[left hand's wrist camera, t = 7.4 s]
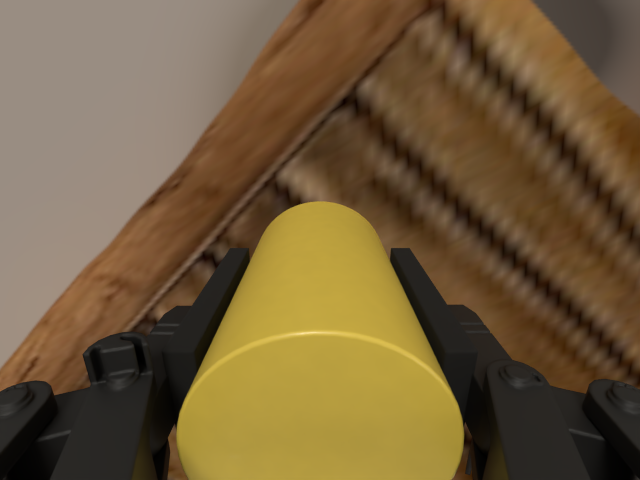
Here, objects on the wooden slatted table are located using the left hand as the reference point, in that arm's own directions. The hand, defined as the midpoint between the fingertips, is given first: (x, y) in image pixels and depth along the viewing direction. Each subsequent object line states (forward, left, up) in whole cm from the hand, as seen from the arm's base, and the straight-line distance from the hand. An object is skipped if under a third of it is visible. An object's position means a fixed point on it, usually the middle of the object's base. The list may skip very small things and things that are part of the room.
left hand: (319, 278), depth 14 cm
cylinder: (0, 0, -2) cm, 2 cm away
